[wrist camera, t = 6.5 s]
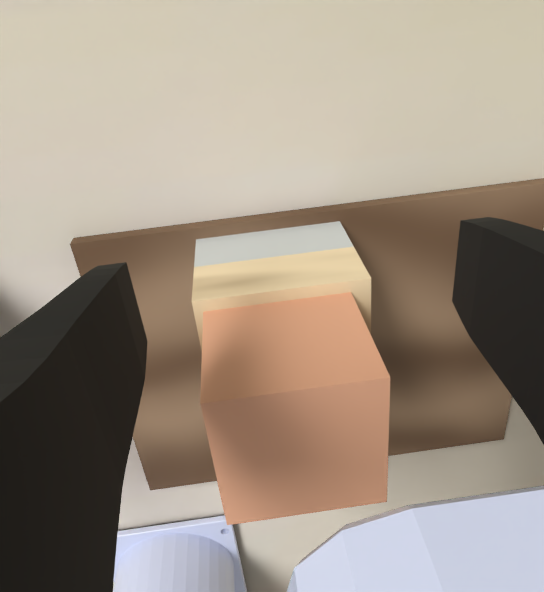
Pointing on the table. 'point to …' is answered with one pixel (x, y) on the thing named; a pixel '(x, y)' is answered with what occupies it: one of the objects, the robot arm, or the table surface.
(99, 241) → the board
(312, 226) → the slab bottom
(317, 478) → the block
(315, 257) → the slab top
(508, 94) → the table surface
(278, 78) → the table surface
